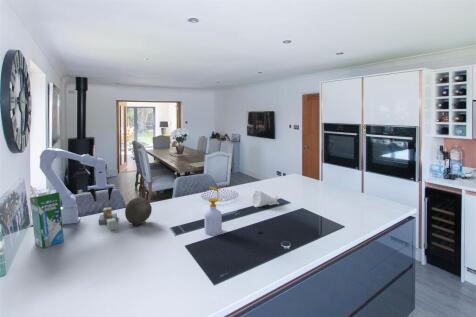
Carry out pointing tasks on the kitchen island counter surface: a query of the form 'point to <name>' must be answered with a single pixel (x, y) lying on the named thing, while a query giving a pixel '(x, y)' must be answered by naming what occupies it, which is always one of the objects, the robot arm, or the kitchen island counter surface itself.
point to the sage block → (111, 224)
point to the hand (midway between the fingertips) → (102, 200)
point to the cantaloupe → (138, 211)
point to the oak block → (107, 212)
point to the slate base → (103, 220)
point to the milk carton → (47, 219)
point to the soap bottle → (213, 218)
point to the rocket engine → (263, 199)
